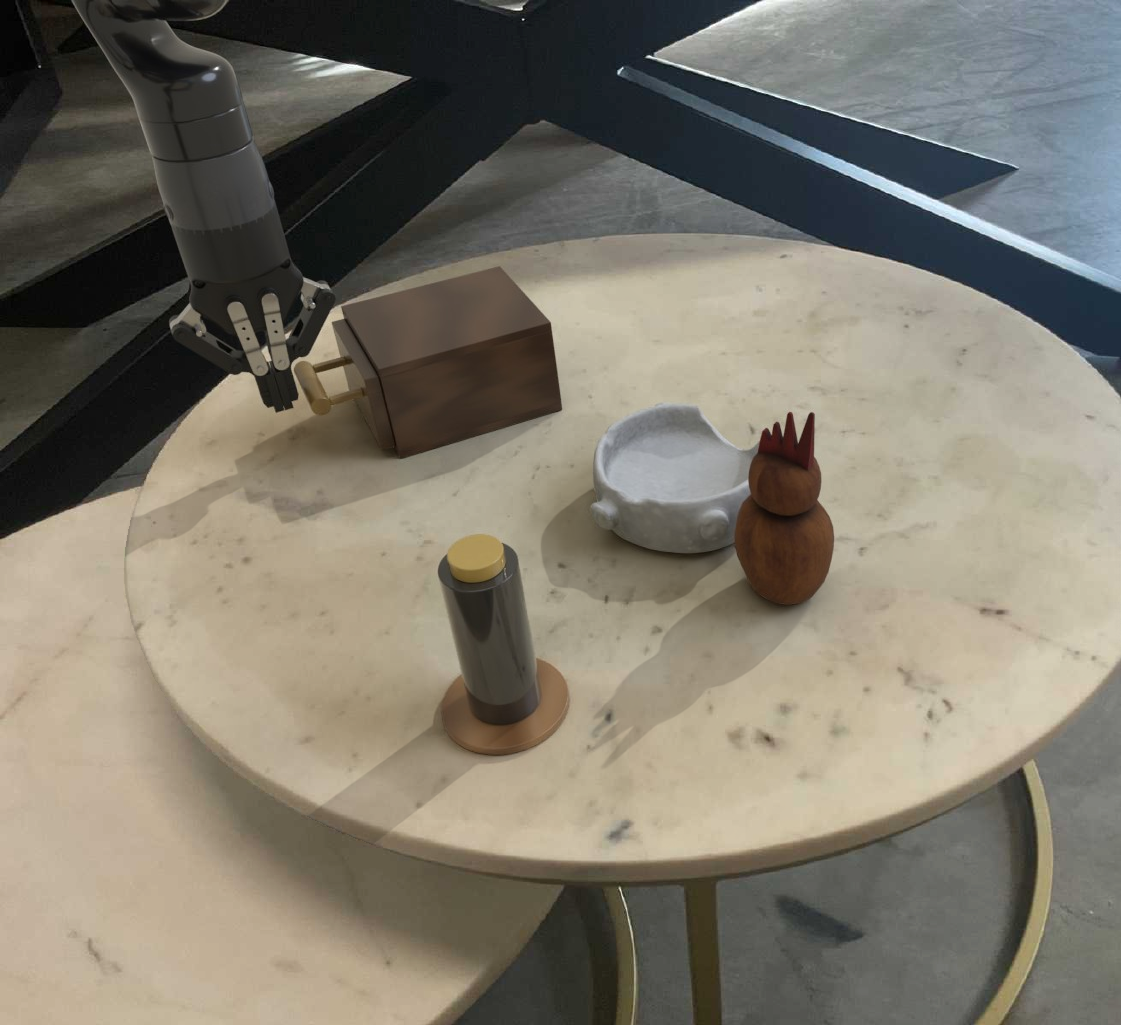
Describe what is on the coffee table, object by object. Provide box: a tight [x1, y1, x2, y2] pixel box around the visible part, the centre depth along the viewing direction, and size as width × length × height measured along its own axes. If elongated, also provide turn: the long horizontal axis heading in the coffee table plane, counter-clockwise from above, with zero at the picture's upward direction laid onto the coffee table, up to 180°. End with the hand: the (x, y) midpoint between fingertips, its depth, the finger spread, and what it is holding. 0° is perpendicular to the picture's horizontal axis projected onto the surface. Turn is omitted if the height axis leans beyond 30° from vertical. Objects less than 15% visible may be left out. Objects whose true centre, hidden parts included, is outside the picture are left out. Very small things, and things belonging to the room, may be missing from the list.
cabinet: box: [340, 265, 563, 459], centre depth 99 cm, size 15×13×9 cm
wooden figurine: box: [734, 411, 835, 606], centre depth 75 cm, size 7×6×15 cm
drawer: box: [293, 318, 396, 451], centre depth 98 cm, size 18×11×7 cm, turn 117°
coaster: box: [440, 657, 571, 756], centre depth 72 cm, size 8×8×1 cm
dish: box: [589, 401, 760, 554], centre depth 86 cm, size 14×14×5 cm
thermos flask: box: [437, 533, 542, 725], centre depth 68 cm, size 5×5×12 cm
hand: (282, 406), depth 94 cm, fingers closed
